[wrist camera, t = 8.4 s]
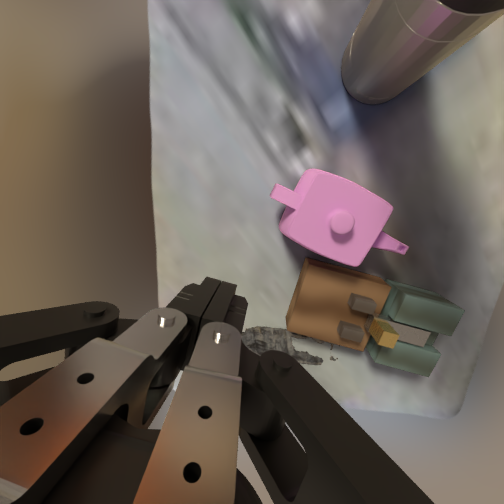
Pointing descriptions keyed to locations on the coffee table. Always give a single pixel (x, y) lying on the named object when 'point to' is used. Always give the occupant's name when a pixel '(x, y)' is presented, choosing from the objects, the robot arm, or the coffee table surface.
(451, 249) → the coffee table surface
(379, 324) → the yellow-capped grey beam
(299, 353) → the driftwood
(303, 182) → the teapot
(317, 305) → the block set
